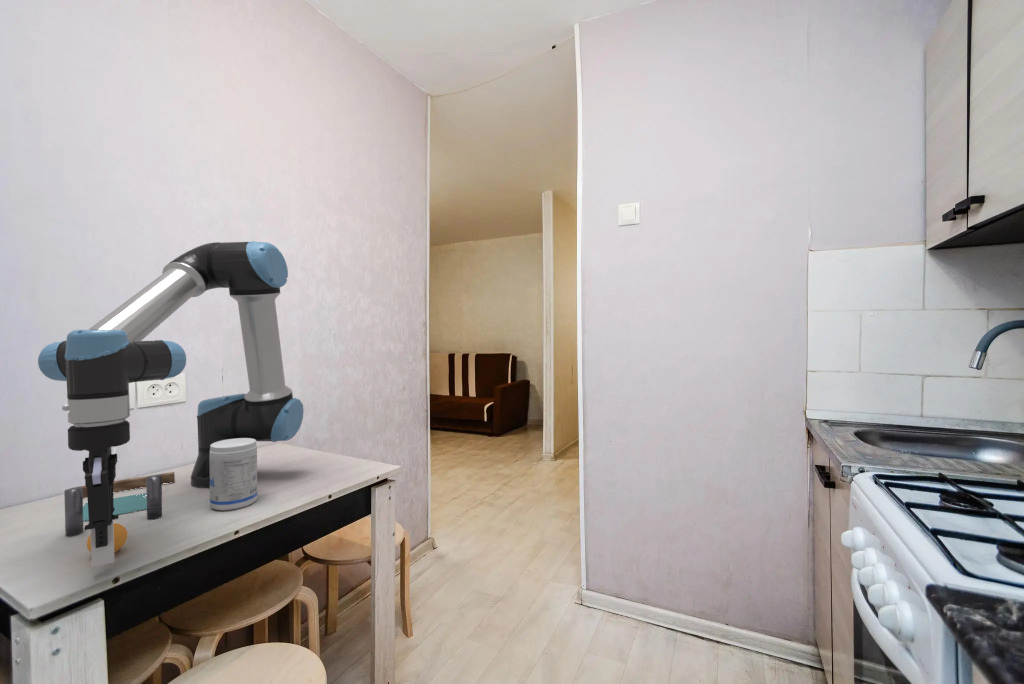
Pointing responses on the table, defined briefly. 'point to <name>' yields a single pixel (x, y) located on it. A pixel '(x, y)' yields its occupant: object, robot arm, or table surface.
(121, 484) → the brown wooden bar
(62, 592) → the table surface
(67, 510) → the left post
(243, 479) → the supplement tub
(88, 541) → the ball
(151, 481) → the right post
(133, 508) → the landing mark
